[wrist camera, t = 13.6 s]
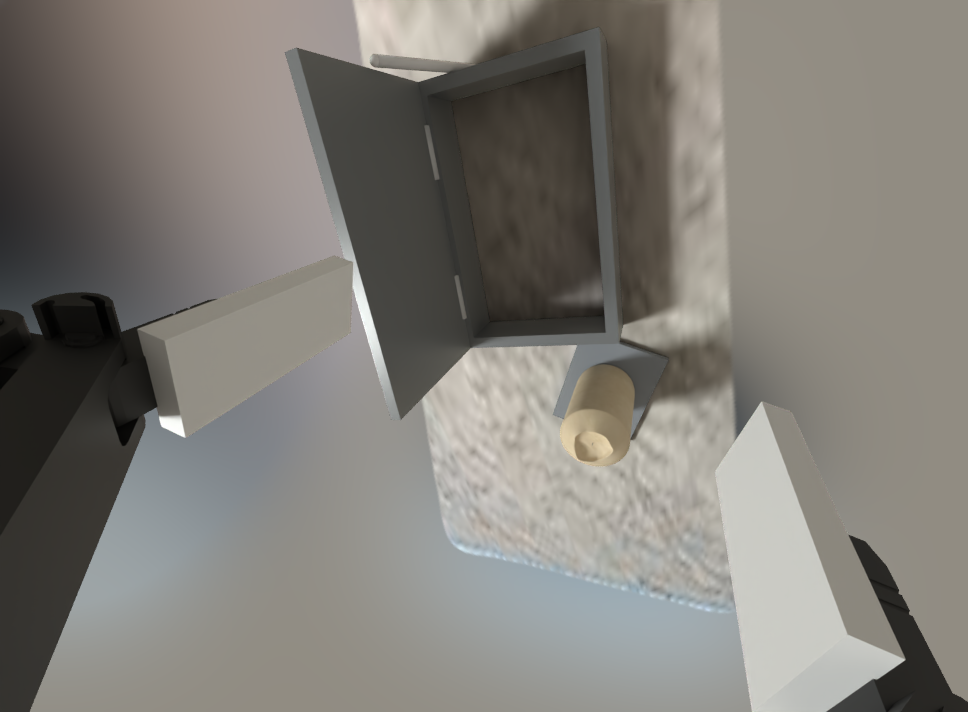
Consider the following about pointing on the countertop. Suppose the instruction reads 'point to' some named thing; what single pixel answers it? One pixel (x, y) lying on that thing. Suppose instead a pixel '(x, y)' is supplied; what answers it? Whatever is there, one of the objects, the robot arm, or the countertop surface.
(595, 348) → the mat
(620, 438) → the candle
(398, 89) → the case
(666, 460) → the countertop surface
